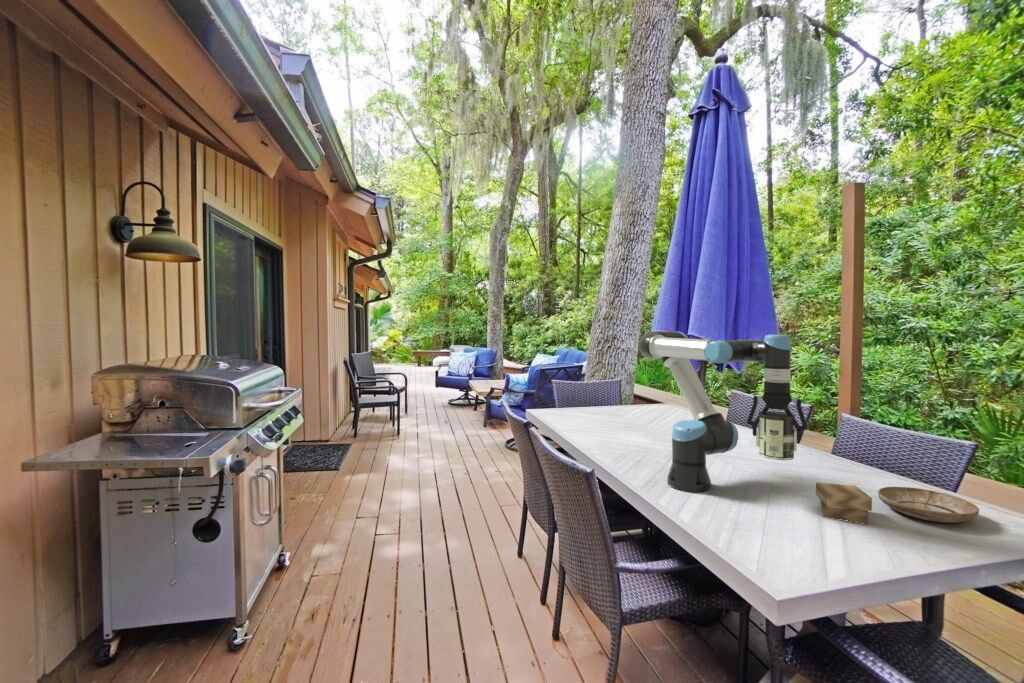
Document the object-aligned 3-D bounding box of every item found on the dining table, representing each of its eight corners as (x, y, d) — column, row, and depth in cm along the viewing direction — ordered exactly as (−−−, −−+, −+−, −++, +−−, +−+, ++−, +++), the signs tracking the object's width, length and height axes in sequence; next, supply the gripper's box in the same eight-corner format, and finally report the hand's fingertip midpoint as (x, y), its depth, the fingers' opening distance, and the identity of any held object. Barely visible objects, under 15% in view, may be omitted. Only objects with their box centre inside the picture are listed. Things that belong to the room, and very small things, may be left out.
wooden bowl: (977, 513, 140) (977, 497, 140) (980, 539, 123) (980, 521, 123) (881, 494, 157) (882, 480, 156) (872, 514, 140) (873, 499, 140)
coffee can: (786, 452, 153) (787, 411, 153) (799, 461, 143) (800, 417, 143) (753, 451, 156) (754, 410, 155) (764, 459, 145) (764, 416, 145)
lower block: (822, 518, 138) (822, 505, 138) (820, 506, 148) (820, 493, 148) (867, 526, 133) (868, 512, 132) (862, 512, 142) (862, 500, 142)
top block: (828, 507, 137) (828, 494, 136) (815, 494, 147) (815, 482, 147) (871, 511, 133) (871, 498, 133) (855, 497, 144) (855, 485, 144)
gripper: (737, 380, 151) (737, 445, 152) (819, 384, 139) (817, 455, 140) (739, 378, 158) (739, 440, 158) (817, 381, 146) (816, 449, 147)
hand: (776, 447), depth 149 cm, fingers closed on coffee can, 10 cm apart
